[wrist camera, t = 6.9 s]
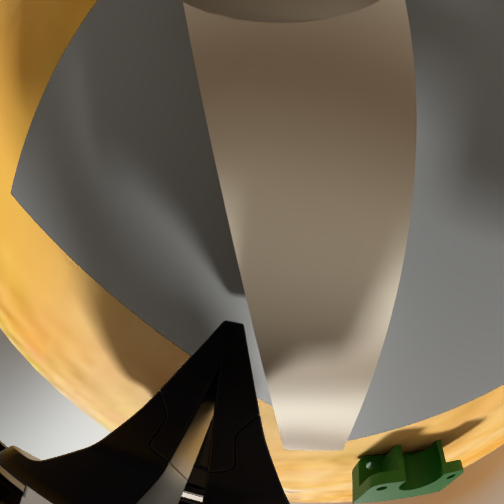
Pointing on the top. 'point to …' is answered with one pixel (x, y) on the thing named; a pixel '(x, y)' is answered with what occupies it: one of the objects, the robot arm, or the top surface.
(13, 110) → the top surface
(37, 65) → the top surface
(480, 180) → the board
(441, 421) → the top surface
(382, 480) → the clamp
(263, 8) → the link
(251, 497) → the robot arm
